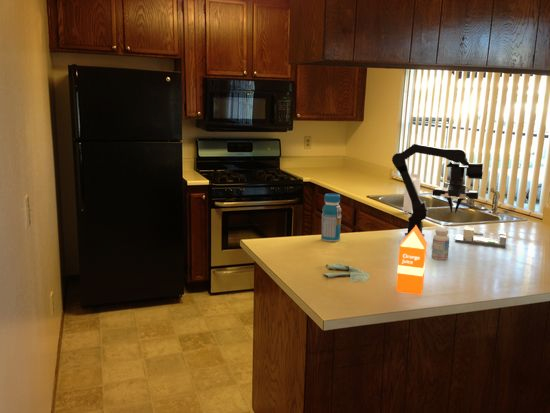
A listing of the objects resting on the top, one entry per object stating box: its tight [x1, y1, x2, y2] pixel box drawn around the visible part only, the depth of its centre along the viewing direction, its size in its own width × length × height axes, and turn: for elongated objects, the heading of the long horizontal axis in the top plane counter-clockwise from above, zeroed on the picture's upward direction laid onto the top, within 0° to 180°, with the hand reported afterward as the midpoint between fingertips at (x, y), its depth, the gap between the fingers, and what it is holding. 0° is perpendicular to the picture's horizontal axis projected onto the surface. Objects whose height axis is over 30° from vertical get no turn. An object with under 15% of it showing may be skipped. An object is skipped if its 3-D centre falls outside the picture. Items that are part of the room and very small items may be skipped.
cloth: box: [323, 262, 371, 283], centre depth 172 cm, size 20×22×2 cm
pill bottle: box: [431, 228, 450, 261], centre depth 191 cm, size 6×6×11 cm
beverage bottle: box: [320, 193, 342, 243], centre depth 214 cm, size 8×8×20 cm
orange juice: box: [396, 225, 428, 296], centre depth 156 cm, size 8×9×20 cm
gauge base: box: [454, 231, 507, 249], centre depth 216 cm, size 20×10×4 cm, turn 66°
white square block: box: [462, 226, 484, 239], centre depth 216 cm, size 8×8×4 cm
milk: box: [402, 172, 422, 213], centre depth 276 cm, size 6×6×22 cm
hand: (453, 212), depth 219 cm, fingers closed
